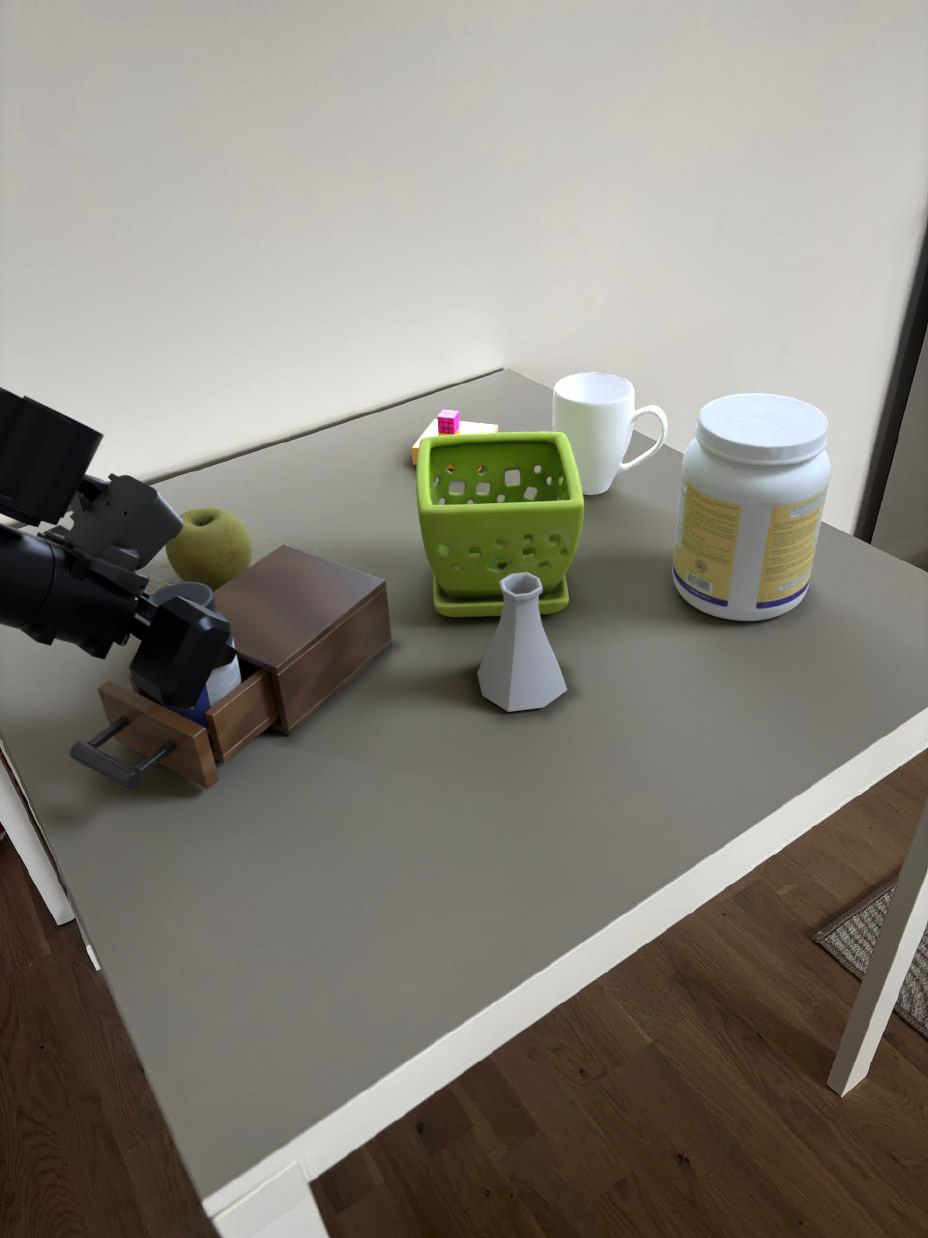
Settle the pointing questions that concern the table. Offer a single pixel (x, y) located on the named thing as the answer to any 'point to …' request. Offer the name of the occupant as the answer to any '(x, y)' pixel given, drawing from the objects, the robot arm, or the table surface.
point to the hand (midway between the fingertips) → (207, 639)
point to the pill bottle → (220, 678)
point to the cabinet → (306, 627)
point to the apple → (210, 547)
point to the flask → (520, 651)
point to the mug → (600, 425)
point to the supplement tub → (751, 506)
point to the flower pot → (498, 518)
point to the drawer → (179, 730)
